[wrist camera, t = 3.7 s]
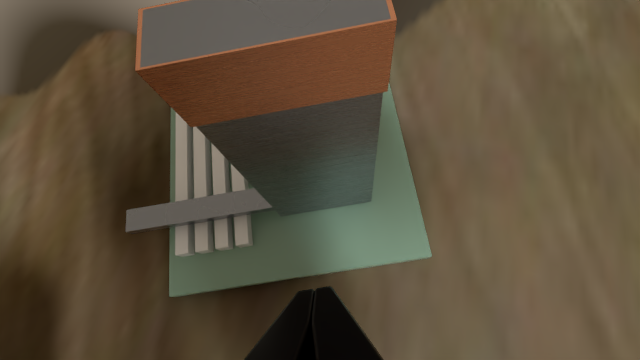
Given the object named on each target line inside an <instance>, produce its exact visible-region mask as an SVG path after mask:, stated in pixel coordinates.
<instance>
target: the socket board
mask: <svg viewBox="0 0 640 360" xmlns="http://www.w3.org/2000/svg"><path fill="white" fill-rule="evenodd" d="M252 188H254V187H253V186H252V185H251V184H250V183H249V182H248V181H247V180H246V179H245V178H244V177H243V176H242V175H241V174H240V173H239V172H238V170H237V169H236V168H235V167H234V166H233V165H232V164H231V163H230V162H229V161H228V160H227V159H226V158H225V157H224V156H223V155H222V154H221V153H220V151H219V150H218V149H217V148H216V147H215V146H214V145H213V144H212V143H211V142H210V141H209V140H208V139H207V138H206V137H205V136H204V135H203V133H202V132H201V131H200V130H199V129H198V128H197V127H190V126H189V125H188V124H187V123H186V122H185V121H184V120H183V119H182V118H181V117H180V116H179V115H178V114H177V113H176V112H175V111H174V110H173V109H172V108H171V139H170V202H176V201H182V200H188V199H194V198H200V197H206V196H211V195H217V194H223V193H229V192H235V191H241V190H247V189H252ZM431 256H432V254H431V250H430V246H429V242H428V238H427V234H426V230H425V226H424V222H423V218H422V214H421V210H420V206H419V201H418V197H417V193H416V189H415V185H414V181H413V177H412V173H411V169H410V165H409V161H408V157H407V153H406V149H405V145H404V141H403V137H402V133H401V129H400V124H399V120H398V116H397V112H396V108H395V104H394V100H393V96H392V92H391V88H390V84H388V91H387V92H383V98H382V107H381V117H380V126H379V135H378V145H377V154H376V163H375V172H374V182H373V191H372V200H371V202H366V203H360V204H354V205H348V206H342V207H336V208H330V209H324V210H318V211H312V212H306V213H300V214H294V215H288V216H282V217H281V216H280V215H279V214H278V213H277V212H276V211H275V210H274V211H268V212H262V213H256V214H250V215H244V216H238V217H232V218H226V219H220V220H214V221H208V222H202V223H196V224H190V225H184V226H178V227H172V228H170V253H169V297H179V296H186V295H192V294H199V293H205V292H212V291H218V290H225V289H231V288H238V287H244V286H251V285H257V284H264V283H270V282H277V281H283V280H290V279H296V278H303V277H309V276H316V275H322V274H328V273H335V272H341V271H348V270H354V269H361V268H367V267H374V266H380V265H387V264H393V263H400V262H406V261H413V260H419V259H426V258H430V257H431Z"/></svg>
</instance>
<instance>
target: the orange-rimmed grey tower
mask: <svg viewBox="0 0 640 360" xmlns="http://www.w3.org/2000/svg"><path fill="white" fill-rule="evenodd" d="M396 22H397V19H396V15H395V12H394V8H393V4H392V1H391V0H180V1H175V2H171V3H166V4H161V5H156V6H152V7H146V8H141V9H139V10H138V29H137V47H136V67H135V71H136V72H137V73H138V74H139V75H140V76H141V77H142V78H143V79H144V80H145V81H146V82H147V83H148V84H149V85H150V86H151V87H152V88H153V89H154V90H155V91H156V92H157V93H158V94H159V95H160V96H161V97H162V98H163V99H164V100H165V101H166V103H167V104H168V105H169V106H170V107H171V108H172V109H173V110H174V111H175V112H176V113H177V114H178V115H179V116H180V117H181V118H182V119H183V120H184V121H185V122H186V123H187V124H188V125H189V126H190V127H197V128H198V129H199V130H200V131H201V132H202V133H203V135H204V136H205V137H206V138H207V139H208V140H209V141H210V142H211V143H212V144H213V145H214V146H215V147H216V148H217V149H218V150H219V151H220V153H221V154H222V155H223V156H224V157H225V158H226V159H227V160H228V161H229V162H230V163H231V164H232V165H233V166H234V167H235V168H236V169H237V170H238V172H239V173H240V174H241V175H242V176H243V177H244V178H245V179H246V180H247V181H248V182H249V183H250V184H251V185H252V186H253V187H254V188H252V189H247V190H241V191H235V192H229V193H223V194H217V195H211V196H206V197H200V198H194V199H188V200H182V201H176V202H170V203H164V204H159V205H153V206H147V207H141V208H135V209H129V210H127V212H126V231H125V232H127V233H131V234H135V233H141V232H147V231H153V230H160V229H166V228H172V227H178V226H184V225H190V224H196V223H202V222H208V221H214V220H220V219H226V218H232V217H238V216H244V215H250V214H256V213H262V212H268V211H274V210H275V211H276V212H277V213H278V214H279V215H280V216H281V217H282V216H288V215H294V214H300V213H306V212H312V211H318V210H324V209H330V208H336V207H342V206H348V205H354V204H360V203H366V202H371V200H372V191H373V182H374V172H375V163H376V154H377V145H378V135H379V126H380V117H381V107H382V98H383V92H387V91H388V84H389V77H390V69H391V61H392V53H393V46H394V38H395V30H396Z"/></svg>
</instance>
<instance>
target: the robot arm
mask: <svg viewBox="0 0 640 360" xmlns="http://www.w3.org/2000/svg"><path fill="white" fill-rule="evenodd" d="M244 360H383V358H382V357H381V355H380V354H379V353H378V351H377V350H376V348H375V347H374V346H373V344H372V343H371V341H370V340H369V339H368V337H367V336H366V334H365V333H364V332H363V330H362V329H361V327H360V326H359V325H358V323H357V322H356V320H355V319H354V318H353V316H352V315H351V313H350V312H349V311H348V309H347V308H346V306H345V305H344V304H343V302H342V301H341V299H340V298H339V297H338V295H337V294H336V292H335V291H334V290H333V288H332V287H330V286H329V287H322V288H317V289H316V290H315V291H314V290H313V289H309V290H303V291H299V292H297V293H296V295H295V296H294V297H293V299H292V300H291V301H290V302H289V304H288V305H287V306H286V307H285V309H284V310H283V311H282V312H281V314H280V315H279V316H278V317H277V319H276V320H275V321H274V322H273V324H272V325H271V326H270V328H269V329H268V330H267V331H266V333H265V334H264V335H263V336H262V338H261V339H260V340H259V341H258V343H257V344H256V345H255V346H254V348H253V349H252V350H251V351H250V353H249V354H248V355H247V357H246V358H245V359H244Z"/></svg>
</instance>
